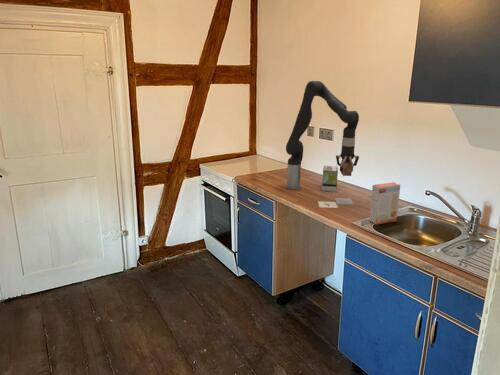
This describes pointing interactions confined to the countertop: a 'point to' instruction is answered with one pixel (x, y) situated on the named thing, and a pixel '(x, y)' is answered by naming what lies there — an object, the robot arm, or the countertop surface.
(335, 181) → the tea box
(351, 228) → the countertop surface
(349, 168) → the walnut block
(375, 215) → the cracker box
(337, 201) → the slate pad
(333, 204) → the card
